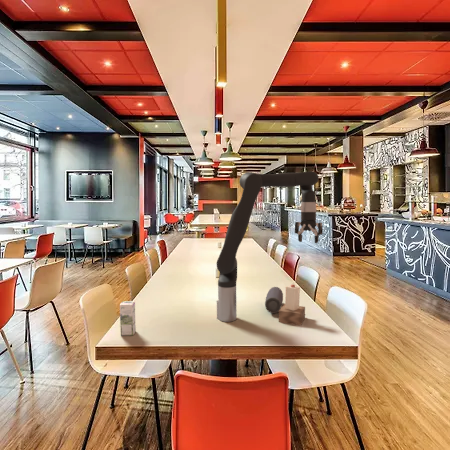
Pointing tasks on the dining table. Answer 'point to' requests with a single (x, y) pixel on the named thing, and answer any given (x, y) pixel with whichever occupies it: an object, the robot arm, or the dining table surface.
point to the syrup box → (127, 318)
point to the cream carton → (292, 297)
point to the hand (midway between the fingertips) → (308, 242)
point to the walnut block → (292, 315)
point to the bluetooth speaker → (274, 300)
